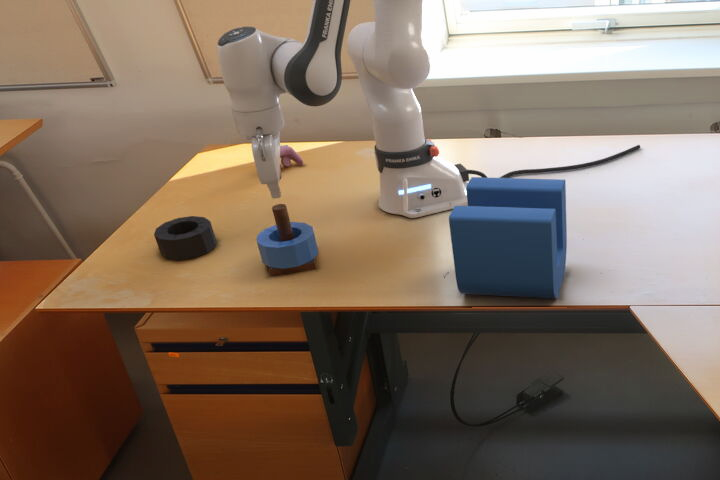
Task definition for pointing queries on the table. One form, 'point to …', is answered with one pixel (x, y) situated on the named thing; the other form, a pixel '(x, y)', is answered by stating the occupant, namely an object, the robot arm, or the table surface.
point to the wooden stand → (286, 239)
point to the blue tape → (287, 246)
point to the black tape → (185, 238)
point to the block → (510, 237)
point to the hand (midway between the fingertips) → (277, 187)
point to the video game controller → (289, 156)
